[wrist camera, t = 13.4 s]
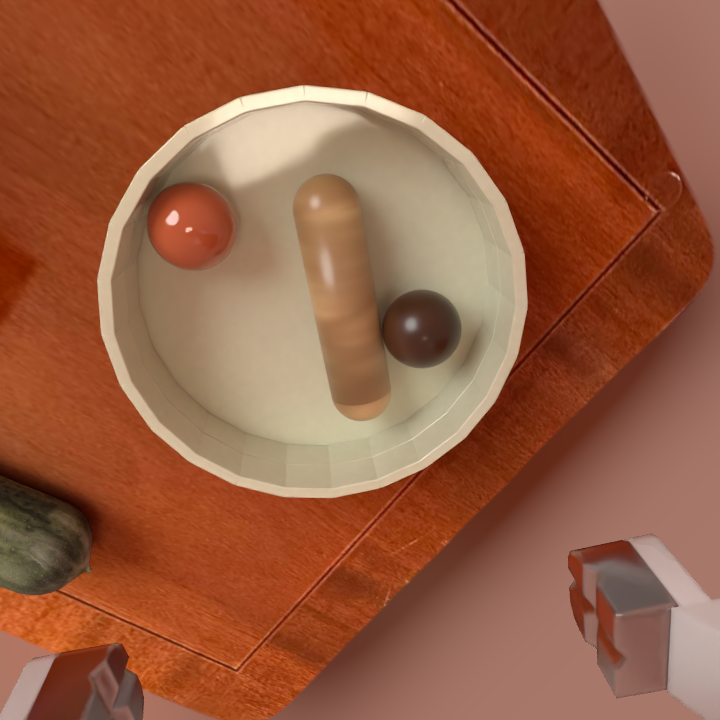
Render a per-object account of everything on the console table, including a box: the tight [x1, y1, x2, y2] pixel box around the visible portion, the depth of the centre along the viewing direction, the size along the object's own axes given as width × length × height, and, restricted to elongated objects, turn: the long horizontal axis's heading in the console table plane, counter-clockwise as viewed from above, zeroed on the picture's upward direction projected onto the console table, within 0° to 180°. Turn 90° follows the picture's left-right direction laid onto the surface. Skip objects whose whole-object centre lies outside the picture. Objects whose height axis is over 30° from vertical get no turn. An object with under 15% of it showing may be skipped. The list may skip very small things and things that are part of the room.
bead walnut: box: [382, 289, 462, 369], centre depth 30 cm, size 4×4×4 cm
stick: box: [293, 174, 391, 421], centre depth 29 cm, size 13×3×3 cm
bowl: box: [97, 85, 528, 498], centre depth 29 cm, size 19×19×5 cm
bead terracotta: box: [146, 181, 237, 271], centre depth 27 cm, size 4×4×4 cm
